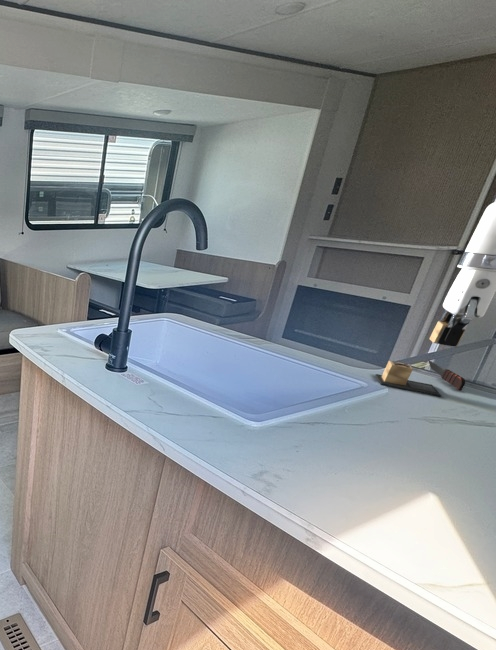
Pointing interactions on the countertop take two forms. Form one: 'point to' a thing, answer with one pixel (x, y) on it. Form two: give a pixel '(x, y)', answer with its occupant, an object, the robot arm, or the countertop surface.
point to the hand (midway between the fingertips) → (443, 341)
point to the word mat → (411, 386)
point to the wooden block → (397, 372)
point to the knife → (448, 376)
